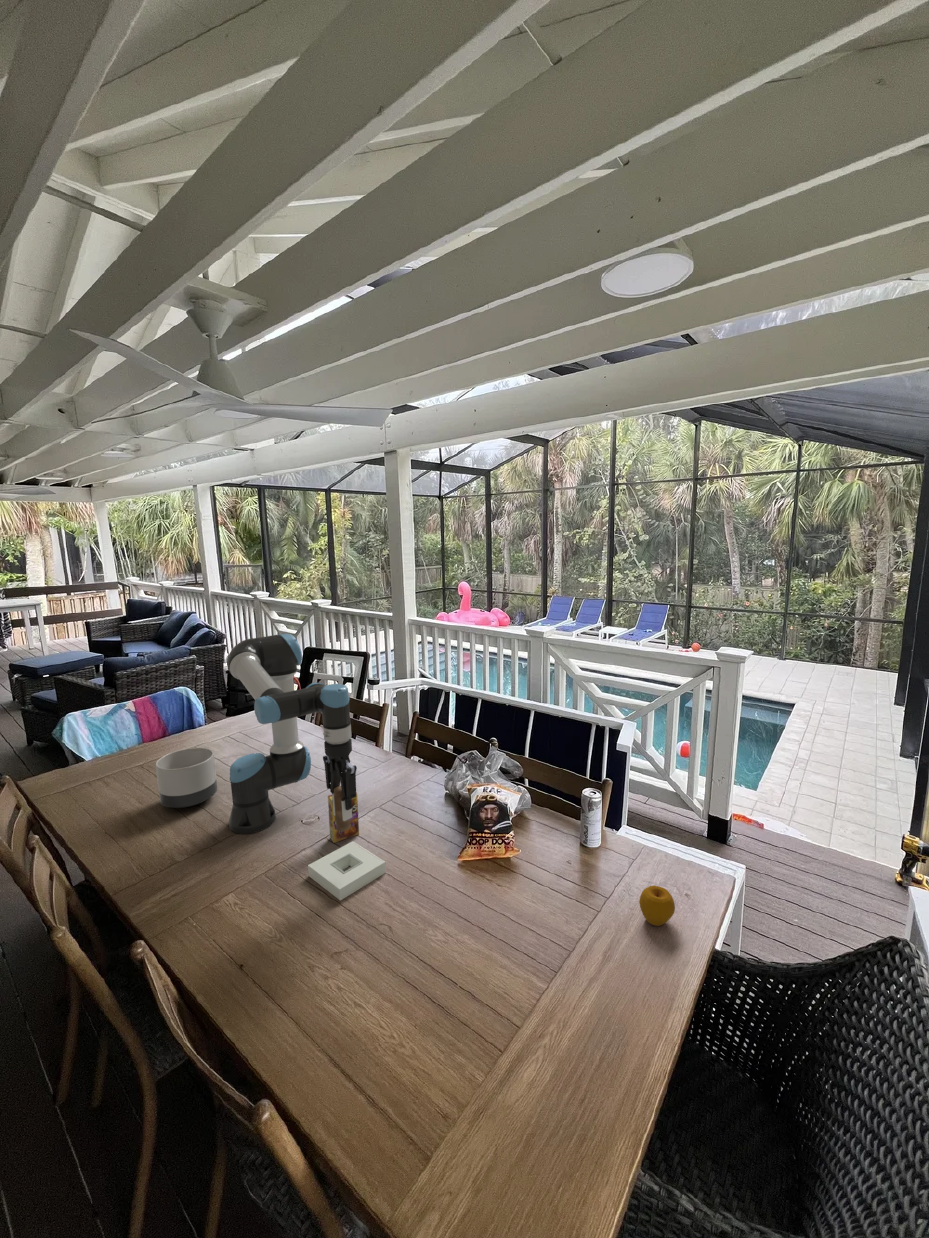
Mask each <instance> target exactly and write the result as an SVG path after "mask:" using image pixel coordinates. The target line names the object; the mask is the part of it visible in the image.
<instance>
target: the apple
mask: <svg viewBox="0 0 929 1238" xmlns="http://www.w3.org/2000/svg"><path fill="white" fill-rule="evenodd" d="M675 904H676V903H675V901H674V897H673V895H672V894H671V893H670V892H669V890H668V889H666V888H664V887H662V886H659V885H649V886H647V887H645V888H644V889H643V890H642V892H641V894H640V896H639V907H640V910H641V913H642V915H643V917H644V919H645V920H646V921H647V923H648V924H650V925H652V926H654V927H655V926H656V927H660V926H663V925H665V924H667V923H668V921H669V920H670V919H671V918H672V917H673V915H674V913H675V910H676V906H675Z"/></svg>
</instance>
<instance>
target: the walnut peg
mask: <svg viewBox="0 0 929 1238" xmlns="http://www.w3.org/2000/svg"><path fill="white" fill-rule="evenodd" d="M342 798H343V794H342V789H341V785H340V786H338V787H336V788H334V802H335V816H336V829H337V830H338V831H347V830H348V829H350V819H348V820H346V821H343V816H342V801H341V799H342Z"/></svg>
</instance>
